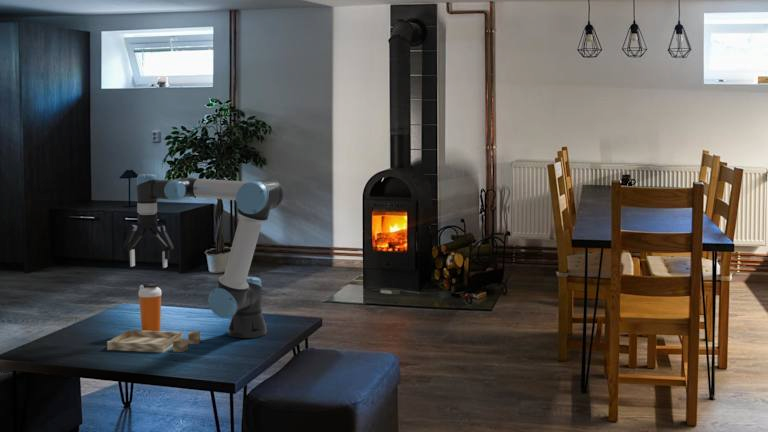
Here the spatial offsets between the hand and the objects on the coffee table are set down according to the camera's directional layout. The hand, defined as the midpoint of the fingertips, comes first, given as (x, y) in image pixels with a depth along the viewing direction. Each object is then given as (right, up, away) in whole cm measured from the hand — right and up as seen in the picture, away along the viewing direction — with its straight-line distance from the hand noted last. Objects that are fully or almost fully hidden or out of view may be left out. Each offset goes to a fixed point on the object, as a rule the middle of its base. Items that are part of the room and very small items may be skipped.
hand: (148, 266), depth 335 cm
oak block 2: (+20, -29, -10) cm, 36 cm away
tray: (+3, -29, -13) cm, 32 cm away
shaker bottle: (0, -27, +3) cm, 27 cm away
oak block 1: (+18, -30, -21) cm, 40 cm away
